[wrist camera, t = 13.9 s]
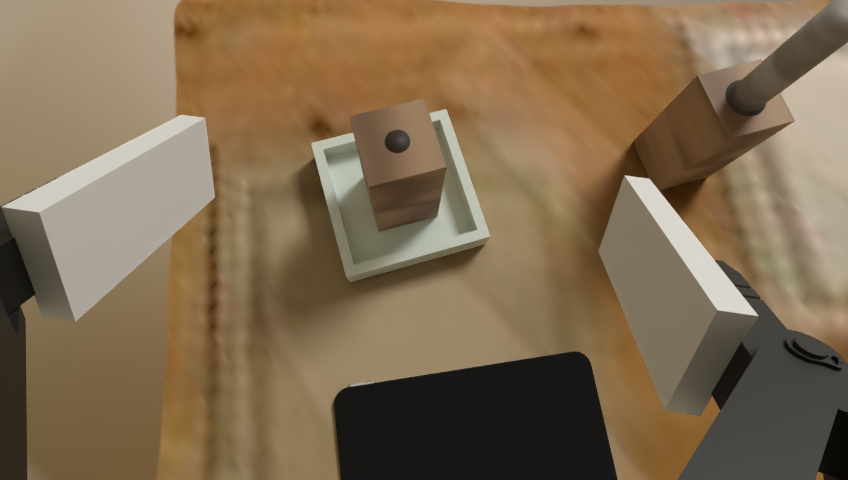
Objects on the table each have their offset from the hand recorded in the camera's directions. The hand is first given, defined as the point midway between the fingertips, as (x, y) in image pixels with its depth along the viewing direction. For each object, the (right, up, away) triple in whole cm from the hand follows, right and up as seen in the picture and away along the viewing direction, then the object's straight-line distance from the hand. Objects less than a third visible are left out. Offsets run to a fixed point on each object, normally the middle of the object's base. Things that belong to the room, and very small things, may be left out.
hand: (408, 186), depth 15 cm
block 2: (+22, +5, +27) cm, 36 cm away
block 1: (-2, +2, +25) cm, 25 cm away
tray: (-2, +2, +26) cm, 26 cm away
